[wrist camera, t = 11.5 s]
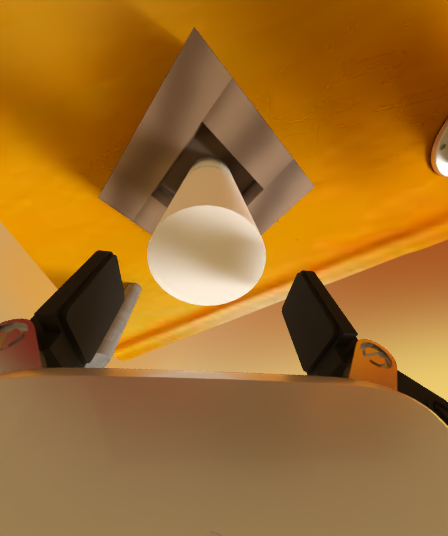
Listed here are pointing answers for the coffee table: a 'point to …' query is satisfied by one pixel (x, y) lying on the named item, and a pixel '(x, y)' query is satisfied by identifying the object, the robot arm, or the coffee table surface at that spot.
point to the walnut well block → (203, 145)
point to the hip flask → (116, 328)
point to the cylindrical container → (207, 239)
